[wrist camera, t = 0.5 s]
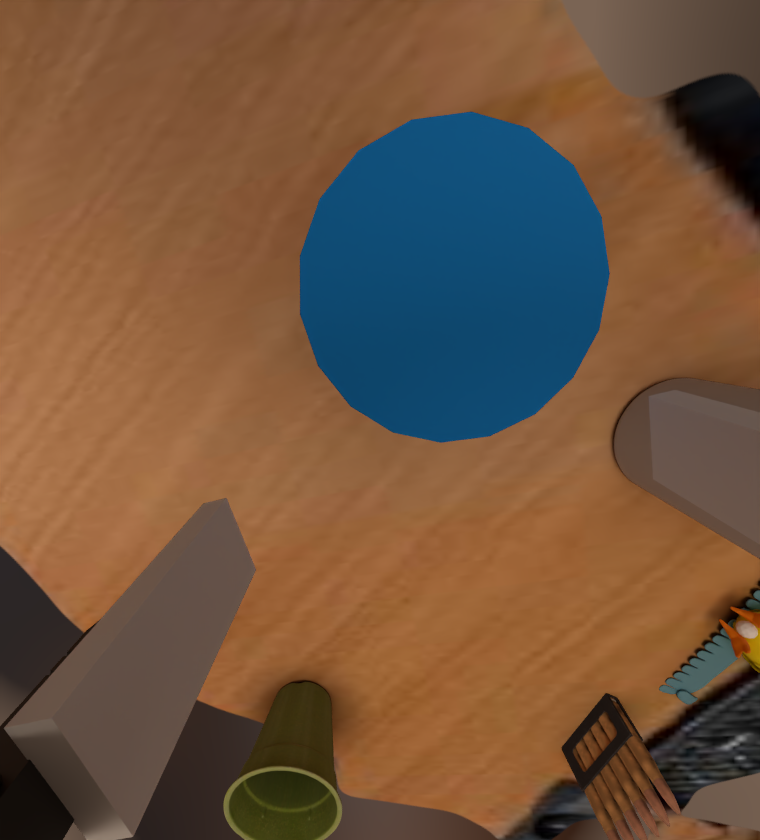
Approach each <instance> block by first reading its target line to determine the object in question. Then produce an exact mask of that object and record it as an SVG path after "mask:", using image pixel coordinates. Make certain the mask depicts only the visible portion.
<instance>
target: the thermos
mask: <svg viewBox="0 0 760 840" xmlns="http://www.w3.org/2000/svg"><path fill="white" fill-rule="evenodd" d="M609 274H610V273H609V266H608V259H607V252H606V245H605V238H604V231H603V224H602V217H601V215H600V213H599V211H598V209H597V208H596V206H595V204H594V202H593V200H592V198H591V196H590V195H589V193H588V191H587V189H586V187H585V185H584V184H583V182H582V180H581V178H580V176H579V174H578V173H577V171H576V169H575V167H574V165H573V164H571V163H570V162H569V161H568V160H567V159H565V158H564V157H563V156H562V155H560V154H559V153H558V152H557V151H556V150H554V149H553V148H552V147H551V146H550V145H548V144H547V143H546V142H545V141H543V140H542V139H541V138H540V137H539V136H537V135H536V134H535V133H534V132H533V131H531V130H530V129H529V128H526V127H523V126H519V125H516V124H512V123H509V122H505V121H502V120H498V119H495V118H491V117H488V116H485V115H481V114H478V113H474V112H466V113H459V114H451V115H444V116H436V117H429V118H421V119H414V120H410V121H409V122H407V123H405V124H404V125H402V126H400V127H398V128H397V129H395V130H393V131H391V132H390V133H388V134H386V135H385V136H383V137H381V138H379V139H378V140H376V141H374V142H373V143H371V144H369V145H367V146H366V147H364V148H362V149H360V150H359V151H358V152H357V153H356V154H355V156H354V157H353V158H352V159H351V161H350V162H349V163H348V164H347V166H346V167H345V168H344V169H343V171H342V172H341V173H340V174H339V176H338V177H337V178H336V179H335V180H334V182H333V183H332V184H331V185H330V187H329V188H328V189H327V190H326V192H325V193H324V194H323V195H322V197H321V198H320V200H319V202H318V205H317V208H316V211H315V214H314V217H313V220H312V223H311V226H310V229H309V232H308V234H307V237H306V240H305V243H304V246H303V249H302V252H301V255H300V315H301V318H302V321H303V324H304V326H305V329H306V332H307V335H308V338H309V341H310V344H311V346H312V349H313V352H314V355H315V358H316V361H317V364H318V366H319V367H320V369H321V370H322V371H323V372H324V374H325V375H326V376H327V377H328V379H329V380H330V381H331V382H332V384H333V385H334V386H335V387H336V389H337V390H338V391H339V392H340V394H341V395H342V396H343V397H344V399H345V400H346V401H347V402H348V404H349V405H350V406H351V407H353V408H354V409H356V410H357V411H359V412H361V413H362V414H364V415H366V416H367V417H369V418H370V419H372V420H374V421H375V422H377V423H379V424H380V425H382V426H383V427H385V428H387V429H388V430H390V431H392V432H393V433H398V434H403V435H408V436H412V437H417V438H422V439H426V440H431V441H436V442H449V441H456V440H464V439H472V438H480V437H488V436H491V435H493V434H495V433H497V432H499V431H501V430H503V429H505V428H507V427H510V426H512V425H514V424H516V423H518V422H520V421H522V420H524V419H526V418H528V417H530V416H532V415H534V414H536V413H537V412H538V411H539V410H540V409H541V408H542V407H543V406H544V405H545V404H546V403H547V402H548V401H549V400H550V399H551V398H552V397H553V396H554V395H555V394H556V393H558V392H559V391H560V390H561V389H562V388H563V387H564V386H565V385H566V384H567V383H568V382H569V381H570V380H571V379H572V378H573V377H574V375H575V373H576V371H577V369H578V367H579V366H580V364H581V362H582V360H583V358H584V356H585V355H586V353H587V351H588V349H589V347H590V345H591V344H592V342H593V340H594V338H595V336H596V334H597V333H598V331H599V328H600V322H601V317H602V312H603V306H604V301H605V296H606V290H607V285H608V280H609Z"/></svg>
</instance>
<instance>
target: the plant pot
mask: <svg viewBox="0 0 760 840" xmlns="http://www.w3.org/2000/svg"><path fill="white" fill-rule="evenodd" d="M224 814H225V817H226V819H227V821H228V823H229V825H230V826H231V828H232V829H233V830H234V831H235V832H236V833H237V834H239V835H240V836H241V837H242V838H244V839H245V840H324V839H325V838H327V837H328V836H329V835H330V834H331V833H333V831H334V830H335V829H336V828H337V826H338V824H339V822H340V820H341V816H342V803H341V799H340V797H339V794H338V792H337V786H336V775H335V771H334V757H333V733H332V707H331V701H330V697H329V695H328V693H327V692H326V691H325V690H324V689H323V688H322V687H320V686H319V685H316V684H314V683H311V682H303V683H291V684H288V685H286V686H285V687H283V688H282V689H281V690H280V691H279V692H278V694H277V696H276V698H275V700H274V702H273V705H272V707H271V709H270V711H269V714H268V716H267V718H266V721H265V723H264V726H263V728H262V730H261V732H260V734H259V737H258V739H257V741H256V743H255V746H254V748H253V750H252V752H251V755H250V757H249V759H248V760H247V762H246V763H245V765H244V767H243V768H242V771H241V773H240V775H239V777H238V779H237V780H235V781H234V783H233V784H232V785H231V786H230V788H229V789H228V791H227V793H226V795H225V799H224Z"/></svg>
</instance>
